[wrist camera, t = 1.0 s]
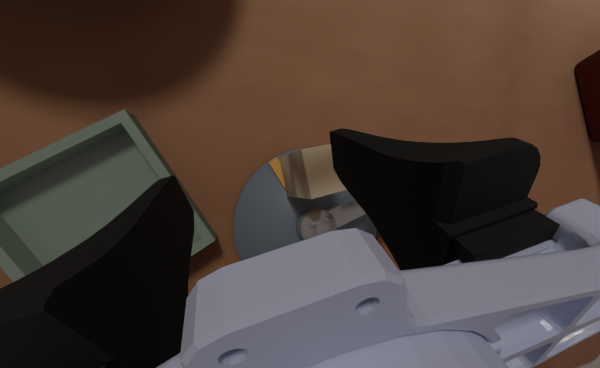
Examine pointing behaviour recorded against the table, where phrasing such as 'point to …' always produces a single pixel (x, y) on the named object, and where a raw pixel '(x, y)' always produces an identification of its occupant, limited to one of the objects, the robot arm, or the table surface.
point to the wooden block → (310, 173)
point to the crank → (327, 218)
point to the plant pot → (590, 92)
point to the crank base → (278, 212)
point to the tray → (78, 192)
